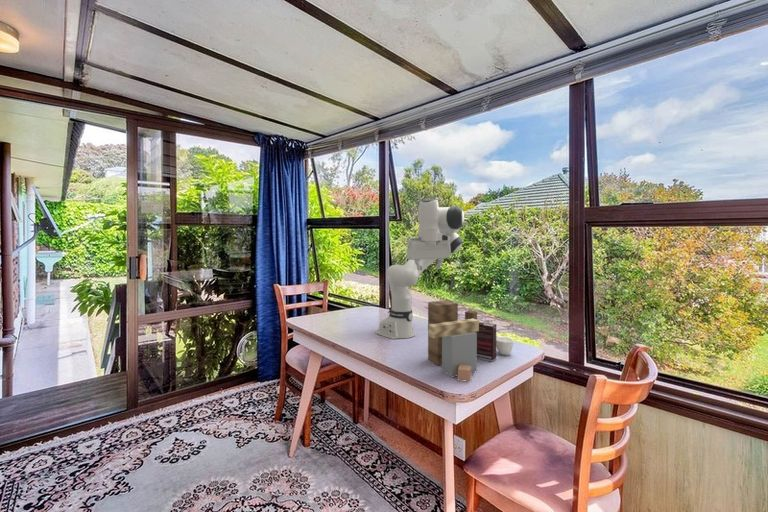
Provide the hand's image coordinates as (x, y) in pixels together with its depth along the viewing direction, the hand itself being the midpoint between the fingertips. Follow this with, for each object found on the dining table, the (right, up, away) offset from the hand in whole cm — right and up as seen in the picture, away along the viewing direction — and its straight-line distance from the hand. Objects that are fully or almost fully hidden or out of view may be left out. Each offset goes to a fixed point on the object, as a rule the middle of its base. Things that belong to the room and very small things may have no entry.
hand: (429, 269), depth 140 cm
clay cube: (+12, -42, -12) cm, 45 cm away
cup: (+38, -40, +15) cm, 57 cm away
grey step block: (+12, -41, -5) cm, 43 cm away
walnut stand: (+7, -41, +6) cm, 42 cm away
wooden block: (+22, -40, +21) cm, 50 cm away
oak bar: (+9, -26, -7) cm, 28 cm away
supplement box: (+26, -41, +8) cm, 49 cm away
